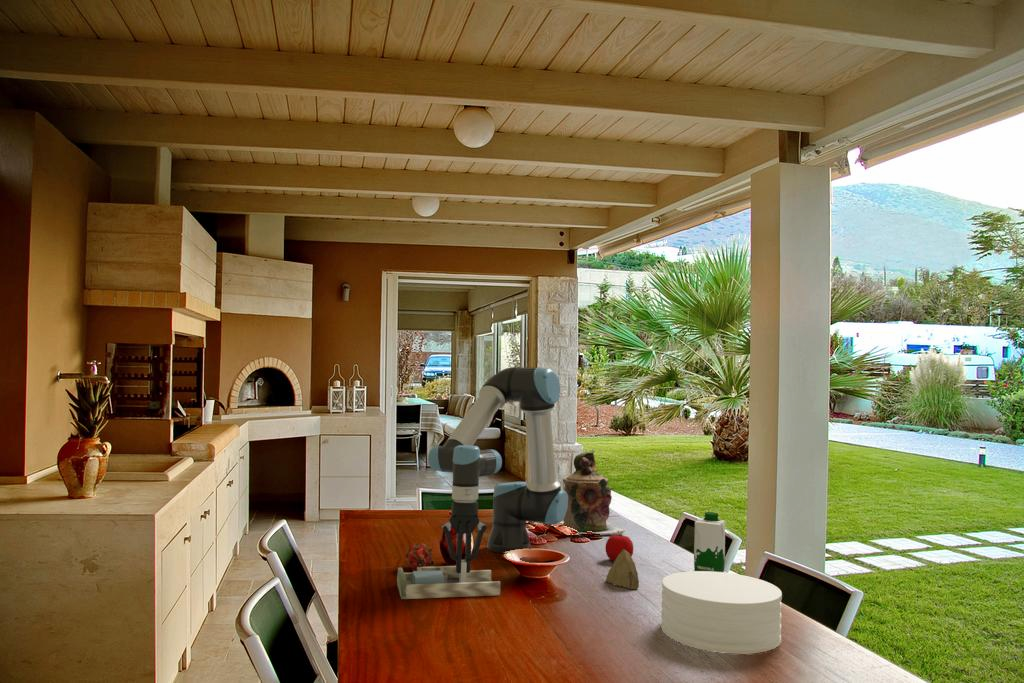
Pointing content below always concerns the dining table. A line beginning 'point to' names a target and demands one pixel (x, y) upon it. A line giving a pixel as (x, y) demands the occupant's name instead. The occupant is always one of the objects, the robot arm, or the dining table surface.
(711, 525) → the milk carton
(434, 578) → the block
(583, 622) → the dining table surface
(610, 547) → the fruit
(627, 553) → the rock
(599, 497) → the cookie jar
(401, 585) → the tray
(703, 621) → the plate stack
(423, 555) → the dragon fruit
